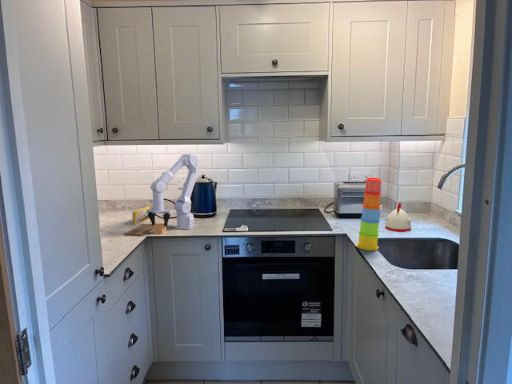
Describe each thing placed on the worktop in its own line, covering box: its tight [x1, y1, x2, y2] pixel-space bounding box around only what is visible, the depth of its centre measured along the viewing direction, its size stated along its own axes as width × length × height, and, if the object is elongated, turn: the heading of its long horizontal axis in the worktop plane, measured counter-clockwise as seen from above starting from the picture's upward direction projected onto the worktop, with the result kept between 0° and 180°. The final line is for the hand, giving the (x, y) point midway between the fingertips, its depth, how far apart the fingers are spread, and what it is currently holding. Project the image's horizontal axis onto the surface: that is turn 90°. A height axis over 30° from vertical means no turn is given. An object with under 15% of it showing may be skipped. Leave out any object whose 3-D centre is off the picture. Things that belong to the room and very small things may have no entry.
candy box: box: [131, 206, 151, 226], centre depth 238 cm, size 16×2×8 cm, turn 161°
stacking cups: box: [356, 177, 382, 252], centre depth 182 cm, size 10×10×35 cm
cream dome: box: [384, 202, 412, 233], centre depth 216 cm, size 14×14×15 cm
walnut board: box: [124, 223, 154, 237], centre depth 218 cm, size 10×20×1 cm, turn 167°
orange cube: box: [153, 222, 167, 235], centre depth 214 cm, size 5×5×5 cm
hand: (159, 225), depth 214 cm, fingers open, 7 cm apart
